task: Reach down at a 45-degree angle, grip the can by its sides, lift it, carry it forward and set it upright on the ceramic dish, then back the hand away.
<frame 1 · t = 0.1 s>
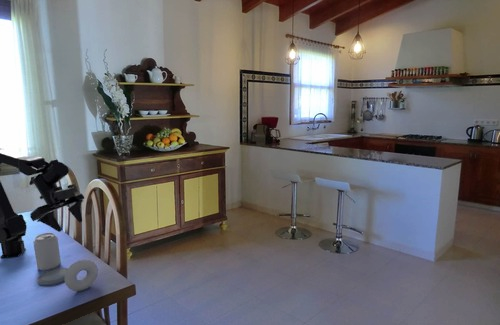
hand: (71, 226, 122), 15 cm above the table, tool tilted 35°, fingers open, 9 cm apart
dish: (55, 277, 117), on the table
can: (49, 267, 125), on the table
donut: (83, 290, 110), on the table
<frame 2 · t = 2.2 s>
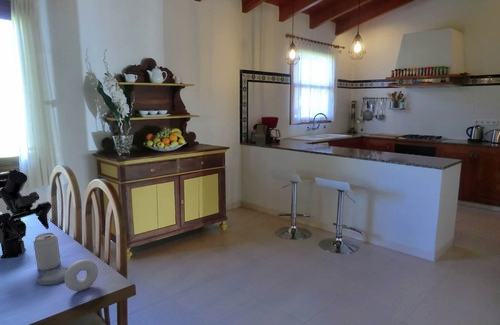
hand: (35, 232, 125), 12 cm above the table, tool tilted 45°, fingers open, 9 cm apart
nothing on the table moved.
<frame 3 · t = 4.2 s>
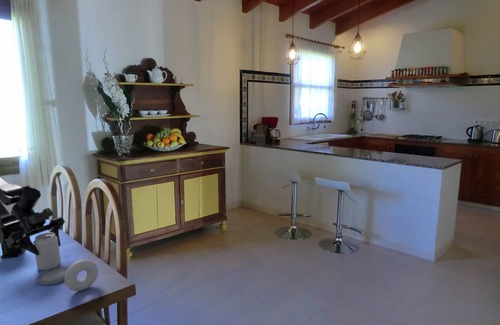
hand: (49, 250, 123), 7 cm above the table, tool tilted 45°, fingers closed on can, 7 cm apart
can: (49, 267, 125), on the table, touching gripper
everything else where it was.
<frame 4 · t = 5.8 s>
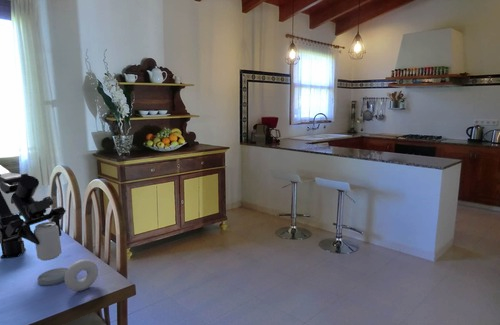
hand: (49, 239, 119), 12 cm above the table, tool tilted 45°, fingers closed on can, 7 cm apart
can: (50, 257, 121), point 5 cm above the table, touching gripper
everything else where it was.
when the fingers open (9 cm above the table, at t = 7.5 s): can stays where it is, resting on dish.
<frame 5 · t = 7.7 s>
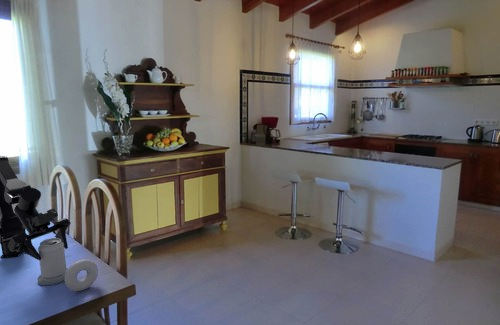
hand: (54, 253, 114), 9 cm above the table, tool tilted 45°, fingers open, 9 cm apart
can: (54, 274, 117), point 1 cm above the table, touching dish
everything else where it was.
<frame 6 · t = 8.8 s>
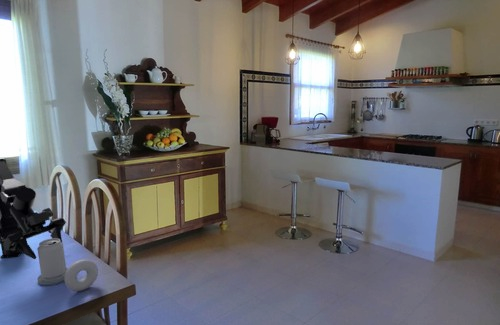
hand: (49, 252, 116), 9 cm above the table, tool tilted 45°, fingers open, 9 cm apart
nothing on the table moved.
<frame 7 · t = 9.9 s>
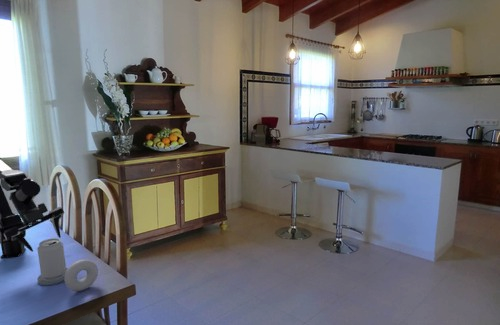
hand: (46, 244, 122), 9 cm above the table, tool tilted 30°, fingers open, 9 cm apart
nothing on the table moved.
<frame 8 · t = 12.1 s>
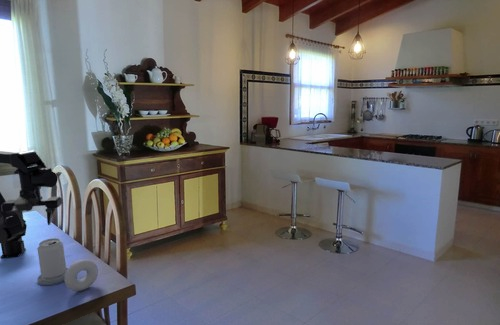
hand: (35, 225, 129), 13 cm above the table, tool pointing down, fingers open, 9 cm apart
nothing on the table moved.
at the end: can 0.3 cm from the dish (horizontally); can tilted 0°; can touching dish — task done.
